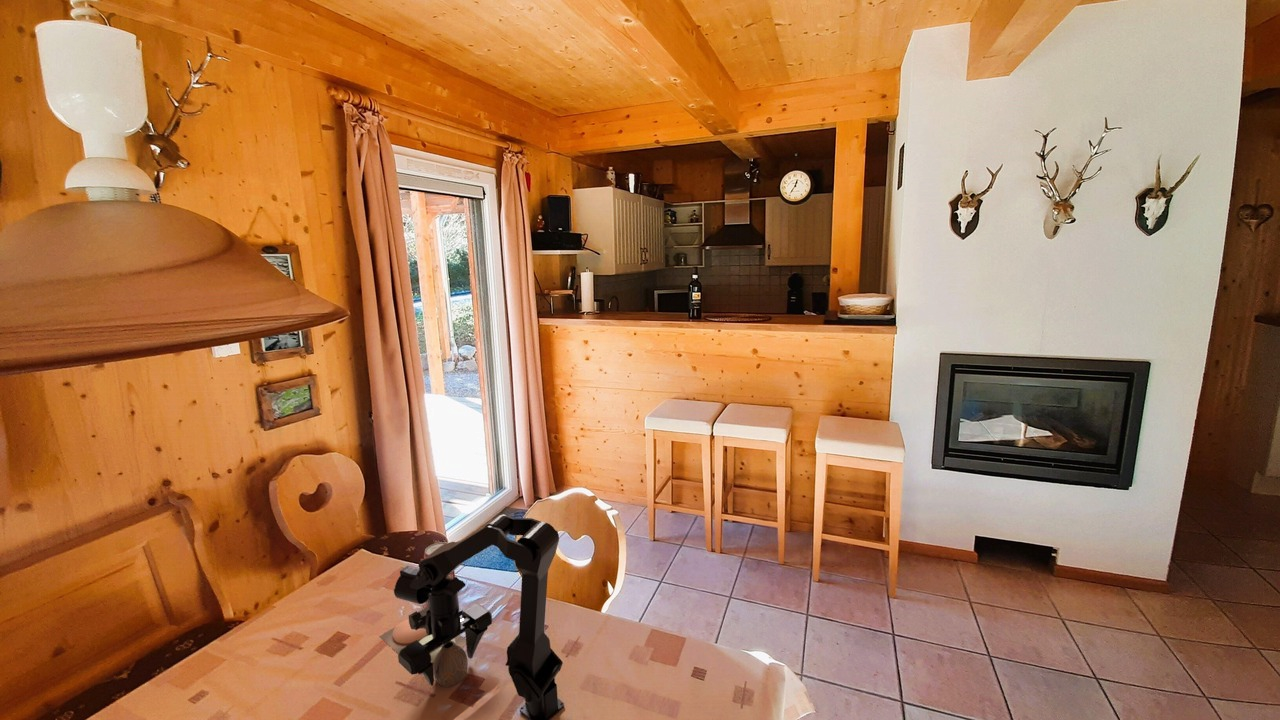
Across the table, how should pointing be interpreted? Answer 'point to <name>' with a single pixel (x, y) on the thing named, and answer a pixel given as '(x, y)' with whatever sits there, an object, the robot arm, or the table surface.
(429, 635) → the cream disc
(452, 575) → the soda can
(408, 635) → the terracotta disc
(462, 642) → the board
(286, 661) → the table surface
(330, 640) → the table surface
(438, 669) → the vase
